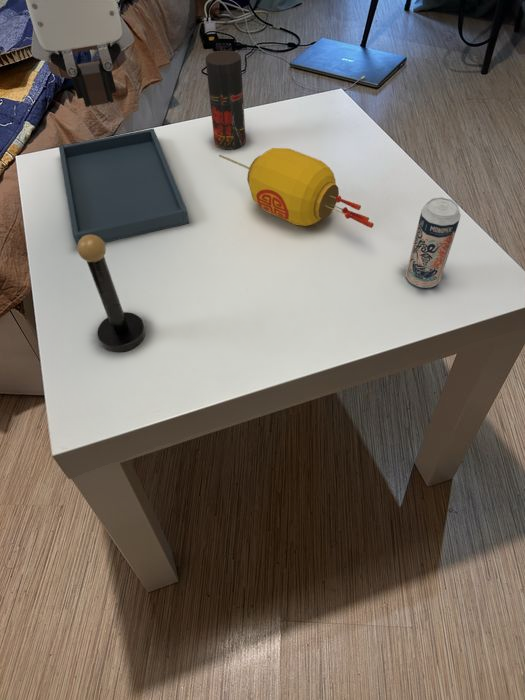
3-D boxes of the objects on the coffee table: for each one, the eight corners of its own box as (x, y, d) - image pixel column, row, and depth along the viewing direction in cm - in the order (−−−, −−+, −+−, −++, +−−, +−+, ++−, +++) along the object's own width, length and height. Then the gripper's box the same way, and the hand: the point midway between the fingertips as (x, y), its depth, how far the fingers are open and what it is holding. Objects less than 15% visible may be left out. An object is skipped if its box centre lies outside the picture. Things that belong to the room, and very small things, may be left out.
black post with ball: (102, 357, 66) (61, 261, 54) (96, 324, 70) (57, 227, 58) (149, 345, 68) (119, 248, 55) (141, 313, 71) (111, 215, 59)
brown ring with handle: (47, 54, 81) (37, 25, 78) (119, 42, 83) (112, 14, 80) (57, 112, 69) (46, 81, 66) (141, 97, 71) (134, 66, 68)
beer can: (400, 283, 73) (417, 212, 64) (411, 263, 76) (429, 191, 67) (434, 294, 72) (457, 222, 63) (443, 273, 75) (467, 201, 65)
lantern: (395, 172, 72) (230, 111, 84) (356, 221, 69) (191, 150, 81) (392, 222, 80) (243, 160, 93) (357, 267, 78) (208, 197, 90)
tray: (77, 248, 80) (73, 235, 79) (62, 158, 97) (58, 146, 95) (189, 223, 84) (187, 210, 82) (155, 140, 100) (153, 128, 99)
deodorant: (211, 137, 101) (201, 53, 89) (240, 131, 102) (235, 48, 90) (218, 152, 97) (210, 67, 85) (249, 146, 98) (245, 61, 86)
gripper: (121, -87, 60) (152, 78, 74) (-26, -70, 57) (36, 99, 72) (131, -72, 56) (162, 102, 70) (-27, -52, 53) (39, 124, 67)
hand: (98, 99), depth 71 cm, fingers closed on brown ring with handle, 2 cm apart
